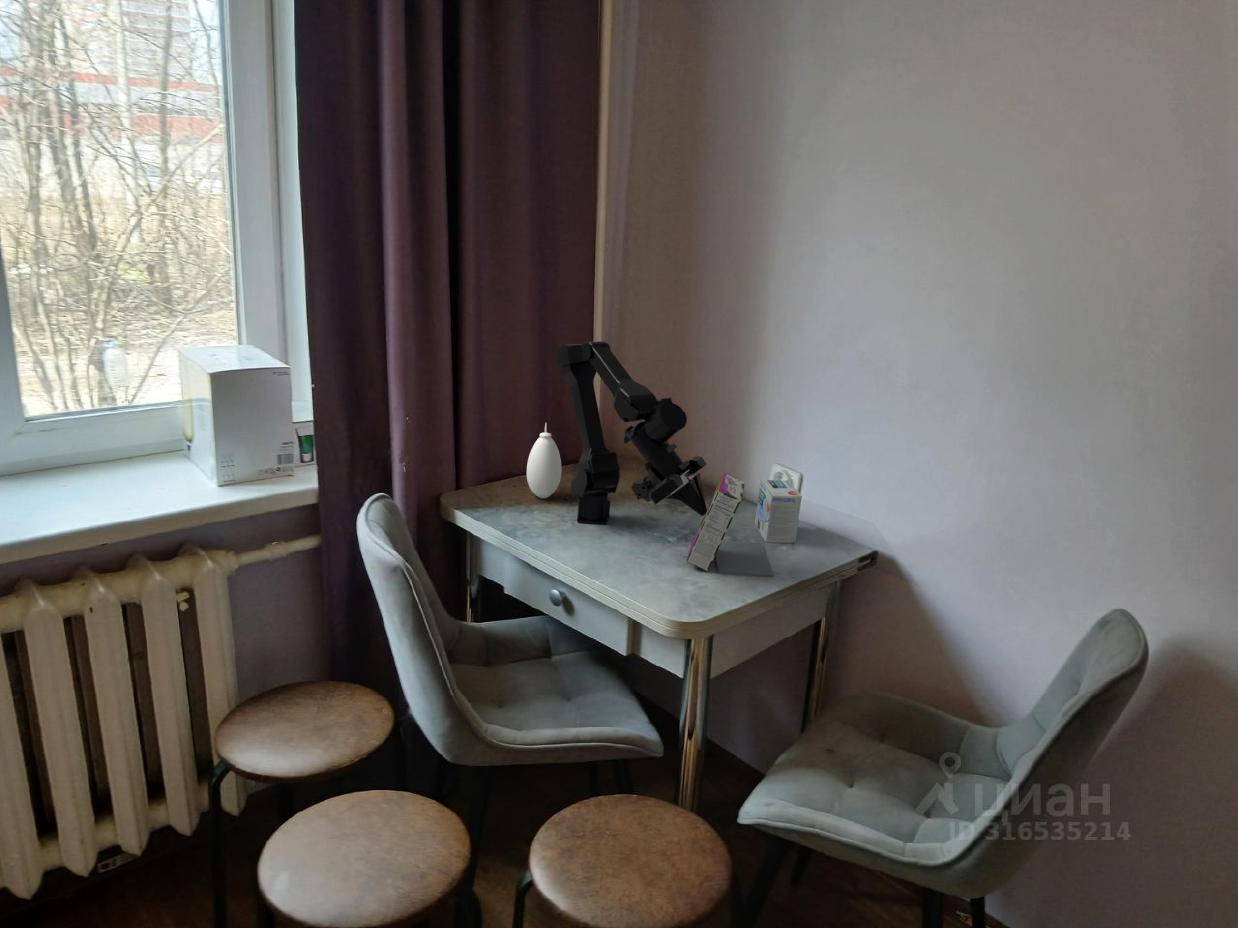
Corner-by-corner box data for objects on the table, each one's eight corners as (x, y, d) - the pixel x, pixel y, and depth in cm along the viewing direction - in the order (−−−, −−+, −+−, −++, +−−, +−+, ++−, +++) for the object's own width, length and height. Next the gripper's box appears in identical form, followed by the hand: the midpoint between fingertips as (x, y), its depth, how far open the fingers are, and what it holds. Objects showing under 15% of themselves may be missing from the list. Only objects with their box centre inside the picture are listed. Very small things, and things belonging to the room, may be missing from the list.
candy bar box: (690, 540, 178) (723, 471, 172) (713, 551, 178) (746, 482, 172) (684, 562, 167) (718, 489, 162) (707, 572, 167) (742, 500, 162)
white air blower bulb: (566, 496, 203) (570, 422, 198) (546, 505, 197) (549, 428, 192) (540, 489, 207) (542, 416, 202) (519, 497, 201) (521, 422, 196)
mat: (718, 573, 167) (718, 571, 167) (711, 541, 182) (711, 539, 182) (772, 576, 167) (773, 575, 167) (761, 544, 182) (761, 543, 182)
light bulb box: (754, 524, 194) (759, 478, 191) (783, 525, 195) (789, 479, 191) (765, 542, 184) (771, 495, 181) (796, 543, 184) (803, 496, 181)
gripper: (643, 461, 181) (689, 521, 180) (608, 484, 164) (658, 551, 163) (683, 430, 176) (729, 492, 175) (650, 452, 159) (702, 520, 158)
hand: (704, 514), depth 168 cm, fingers closed
